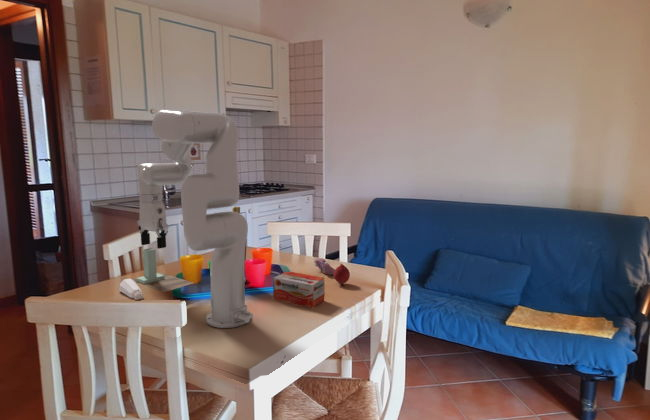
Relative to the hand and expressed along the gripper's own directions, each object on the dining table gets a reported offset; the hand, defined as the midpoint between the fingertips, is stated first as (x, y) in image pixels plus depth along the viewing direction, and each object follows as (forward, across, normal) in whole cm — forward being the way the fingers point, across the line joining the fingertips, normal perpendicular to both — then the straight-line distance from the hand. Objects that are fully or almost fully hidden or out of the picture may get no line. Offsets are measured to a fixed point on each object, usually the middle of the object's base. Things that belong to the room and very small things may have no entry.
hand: (153, 246), depth 160 cm
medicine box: (+15, -52, -18) cm, 57 cm away
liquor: (+14, -24, -17) cm, 33 cm away
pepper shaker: (+11, -3, +13) cm, 17 cm away
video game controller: (+14, -41, -48) cm, 65 cm away
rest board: (+13, -4, 0) cm, 14 cm away
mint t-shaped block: (+12, +1, +1) cm, 12 cm away
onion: (+15, -54, -40) cm, 69 cm away
